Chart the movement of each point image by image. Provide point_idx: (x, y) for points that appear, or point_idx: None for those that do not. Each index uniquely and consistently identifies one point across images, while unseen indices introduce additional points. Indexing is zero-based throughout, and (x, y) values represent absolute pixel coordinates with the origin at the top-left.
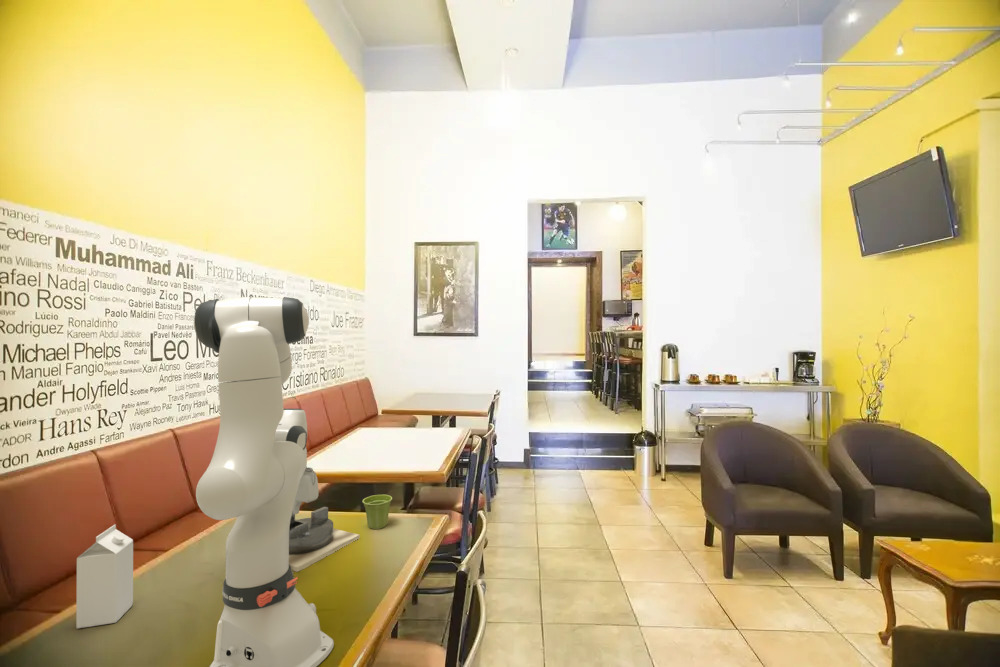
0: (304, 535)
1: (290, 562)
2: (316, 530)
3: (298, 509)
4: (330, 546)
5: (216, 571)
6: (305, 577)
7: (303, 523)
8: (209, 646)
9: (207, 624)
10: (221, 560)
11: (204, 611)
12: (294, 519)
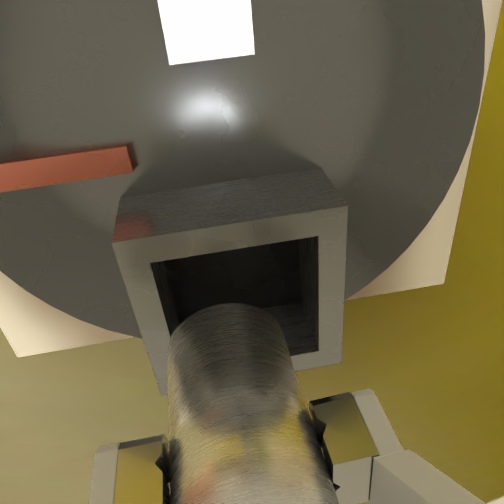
0: (361, 227)
1: (371, 282)
2: (378, 114)
3: (387, 427)
4: None
5: (110, 435)
6: (500, 270)
7: (321, 243)
8: (484, 488)
9: None
10: (2, 409)
11: None
12: (279, 337)
